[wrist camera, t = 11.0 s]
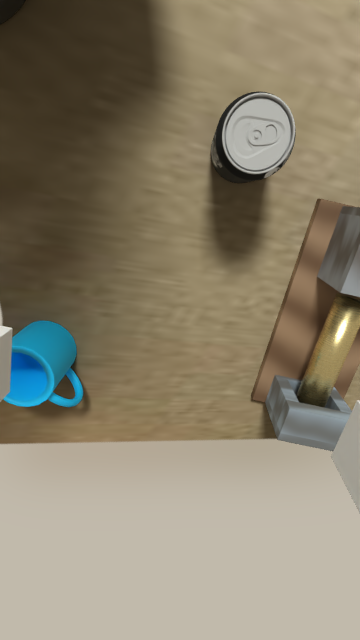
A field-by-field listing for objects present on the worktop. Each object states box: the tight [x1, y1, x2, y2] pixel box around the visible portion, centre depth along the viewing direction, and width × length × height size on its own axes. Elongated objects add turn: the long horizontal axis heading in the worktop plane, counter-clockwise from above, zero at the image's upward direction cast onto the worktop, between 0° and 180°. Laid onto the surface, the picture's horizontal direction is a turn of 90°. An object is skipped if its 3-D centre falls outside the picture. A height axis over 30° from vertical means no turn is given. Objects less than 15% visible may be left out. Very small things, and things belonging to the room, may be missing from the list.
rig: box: [251, 199, 360, 451], centre depth 41 cm, size 27×12×9 cm, turn 168°
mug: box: [3, 321, 83, 407], centre depth 45 cm, size 12×8×8 cm
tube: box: [296, 293, 360, 408], centre depth 42 cm, size 16×4×4 cm, turn 168°
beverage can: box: [211, 92, 295, 183], centre depth 33 cm, size 7×7×12 cm
